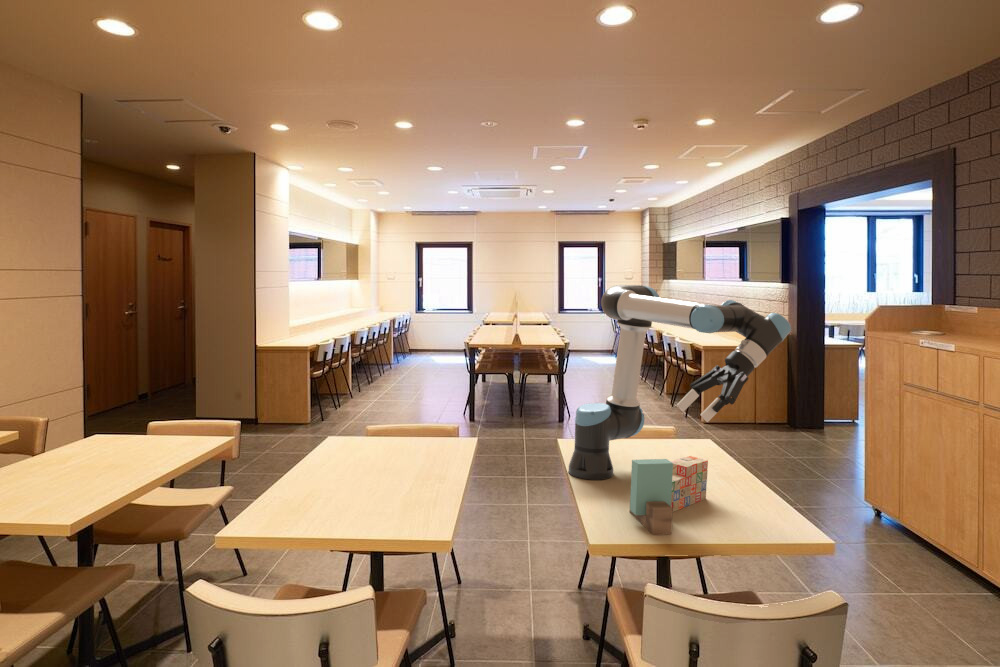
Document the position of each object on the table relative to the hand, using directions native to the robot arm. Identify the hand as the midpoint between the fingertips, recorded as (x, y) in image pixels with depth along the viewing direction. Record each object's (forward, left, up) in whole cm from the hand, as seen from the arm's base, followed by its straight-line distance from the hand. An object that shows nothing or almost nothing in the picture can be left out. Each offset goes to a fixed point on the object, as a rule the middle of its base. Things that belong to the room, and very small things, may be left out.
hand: (691, 413), depth 169 cm
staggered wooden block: (+2, -12, -30) cm, 32 cm away
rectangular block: (+2, -12, -27) cm, 29 cm away
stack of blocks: (-11, +3, -30) cm, 32 cm away
